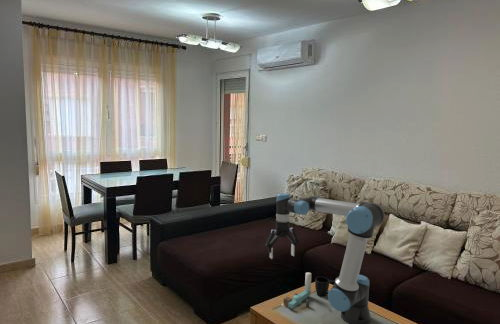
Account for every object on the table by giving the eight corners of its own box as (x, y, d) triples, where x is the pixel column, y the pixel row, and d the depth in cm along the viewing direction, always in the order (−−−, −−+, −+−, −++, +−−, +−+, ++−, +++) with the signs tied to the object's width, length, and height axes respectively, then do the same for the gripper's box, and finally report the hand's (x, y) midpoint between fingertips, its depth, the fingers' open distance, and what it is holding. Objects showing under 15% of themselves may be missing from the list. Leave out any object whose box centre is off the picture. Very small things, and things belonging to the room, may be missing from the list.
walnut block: (292, 305, 201) (292, 298, 200) (288, 307, 198) (289, 300, 198) (286, 303, 203) (286, 296, 203) (283, 305, 200) (283, 298, 200)
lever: (312, 294, 211) (313, 273, 210) (294, 309, 194) (295, 286, 193) (305, 292, 214) (306, 271, 213) (286, 306, 197) (287, 283, 196)
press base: (312, 307, 201) (312, 298, 201) (302, 315, 193) (302, 306, 192) (290, 299, 210) (290, 290, 209) (280, 306, 201) (280, 298, 200)
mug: (335, 298, 212) (336, 283, 211) (315, 297, 213) (316, 282, 212) (333, 292, 220) (334, 277, 219) (314, 290, 221) (314, 276, 220)
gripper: (299, 217, 213) (298, 252, 215) (259, 220, 205) (259, 256, 207) (305, 220, 206) (304, 256, 208) (264, 224, 198) (264, 261, 200)
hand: (282, 256), depth 208 cm, fingers open, 13 cm apart
